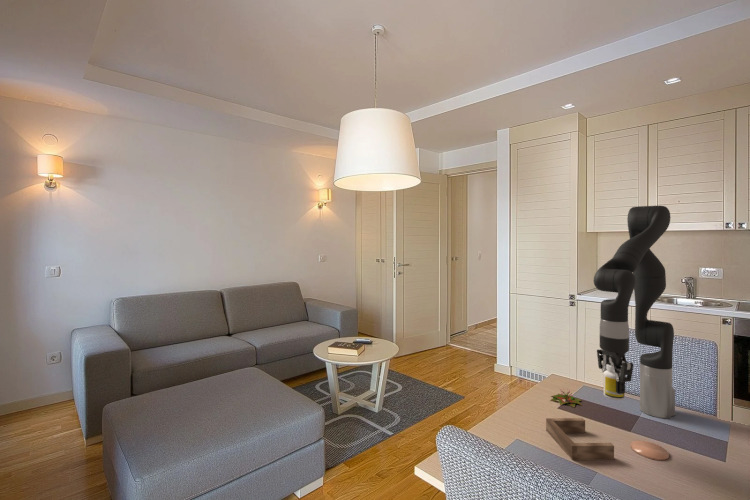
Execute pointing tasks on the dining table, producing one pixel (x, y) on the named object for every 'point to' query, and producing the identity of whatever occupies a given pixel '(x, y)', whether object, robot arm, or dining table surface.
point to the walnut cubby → (577, 450)
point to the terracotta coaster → (649, 450)
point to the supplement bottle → (611, 384)
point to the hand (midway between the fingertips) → (613, 388)
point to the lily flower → (566, 397)
